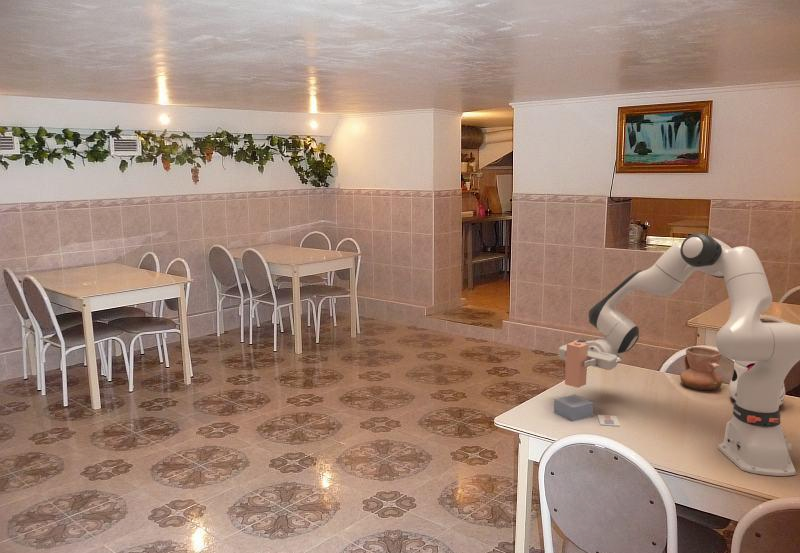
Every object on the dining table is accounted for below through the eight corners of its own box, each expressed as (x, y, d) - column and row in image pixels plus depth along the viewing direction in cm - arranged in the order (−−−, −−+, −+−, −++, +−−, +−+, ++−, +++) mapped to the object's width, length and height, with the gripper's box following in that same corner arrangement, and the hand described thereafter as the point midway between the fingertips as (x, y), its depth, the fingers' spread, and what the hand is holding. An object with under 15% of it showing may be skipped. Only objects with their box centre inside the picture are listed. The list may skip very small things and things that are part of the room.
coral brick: (586, 384, 220) (588, 342, 218) (578, 387, 217) (580, 345, 214) (573, 380, 224) (574, 339, 221) (564, 384, 220) (566, 342, 218)
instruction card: (619, 426, 211) (619, 425, 211) (600, 425, 213) (600, 423, 212) (616, 416, 219) (616, 415, 219) (597, 415, 220) (597, 414, 220)
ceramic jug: (732, 393, 241) (735, 355, 239) (697, 395, 238) (700, 357, 236) (701, 378, 258) (704, 343, 256) (668, 380, 256) (671, 344, 254)
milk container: (771, 416, 219) (776, 365, 216) (719, 401, 232) (723, 353, 229) (791, 404, 230) (797, 354, 227) (741, 390, 243) (745, 344, 240)
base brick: (592, 417, 220) (593, 402, 219) (572, 422, 216) (572, 407, 215) (574, 408, 228) (574, 394, 227) (553, 412, 224) (554, 398, 223)
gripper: (624, 368, 221) (602, 378, 211) (570, 356, 235) (549, 364, 226) (625, 350, 220) (603, 359, 210) (571, 339, 234) (549, 346, 225)
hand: (575, 362), depth 218 cm, fingers closed on coral brick, 5 cm apart
